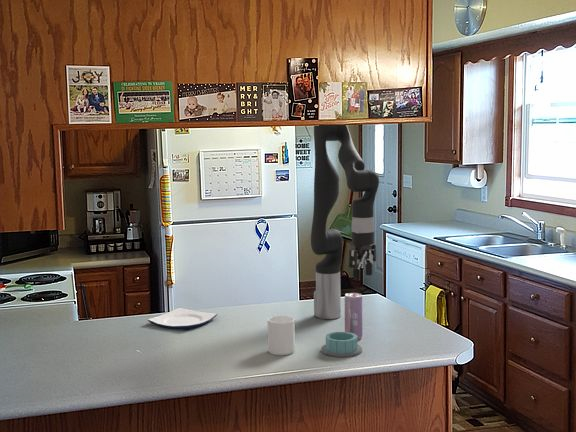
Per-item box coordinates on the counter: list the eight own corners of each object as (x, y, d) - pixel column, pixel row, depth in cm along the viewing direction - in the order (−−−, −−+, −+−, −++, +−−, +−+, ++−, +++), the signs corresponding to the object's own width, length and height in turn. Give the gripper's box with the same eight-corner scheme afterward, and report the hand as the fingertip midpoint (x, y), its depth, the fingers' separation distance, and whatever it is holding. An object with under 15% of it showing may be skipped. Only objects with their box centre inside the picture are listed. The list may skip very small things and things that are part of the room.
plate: (221, 319, 270) (221, 313, 269) (187, 334, 252) (187, 326, 252) (179, 313, 280) (179, 306, 280) (143, 326, 263) (143, 319, 263)
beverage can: (362, 335, 246) (362, 292, 244) (362, 340, 240) (362, 297, 238) (345, 335, 247) (344, 292, 245) (344, 340, 241) (344, 296, 239)
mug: (290, 343, 239) (290, 312, 237) (297, 355, 227) (296, 322, 225) (265, 345, 237) (264, 313, 236) (270, 356, 225) (269, 323, 224)
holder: (313, 352, 229) (313, 338, 228) (335, 342, 239) (335, 328, 238) (348, 360, 221) (348, 345, 220) (369, 349, 231) (369, 334, 231)
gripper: (363, 226, 247) (363, 272, 249) (342, 232, 235) (342, 280, 237) (382, 228, 242) (382, 274, 245) (362, 234, 231) (362, 283, 233)
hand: (362, 277), depth 241 cm, fingers open, 8 cm apart
